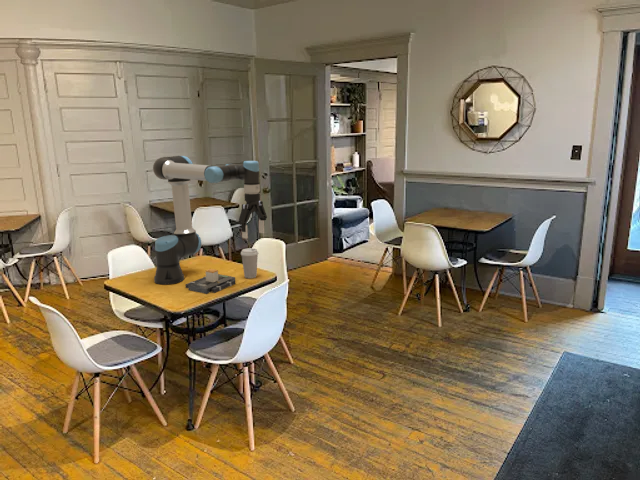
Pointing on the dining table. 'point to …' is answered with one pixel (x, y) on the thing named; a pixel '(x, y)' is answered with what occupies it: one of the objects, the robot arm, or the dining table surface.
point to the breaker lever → (211, 275)
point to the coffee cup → (249, 262)
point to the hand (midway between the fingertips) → (253, 235)
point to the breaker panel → (209, 284)
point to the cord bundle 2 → (223, 286)
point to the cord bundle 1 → (194, 282)
